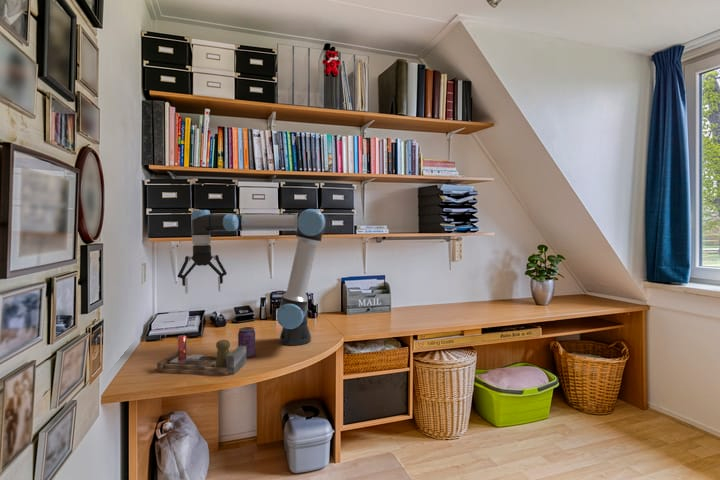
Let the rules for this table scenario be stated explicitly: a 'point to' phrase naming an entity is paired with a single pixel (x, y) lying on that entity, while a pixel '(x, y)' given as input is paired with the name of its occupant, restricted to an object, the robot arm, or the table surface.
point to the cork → (222, 353)
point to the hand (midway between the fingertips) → (203, 292)
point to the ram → (183, 356)
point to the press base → (206, 364)
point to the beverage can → (247, 340)
